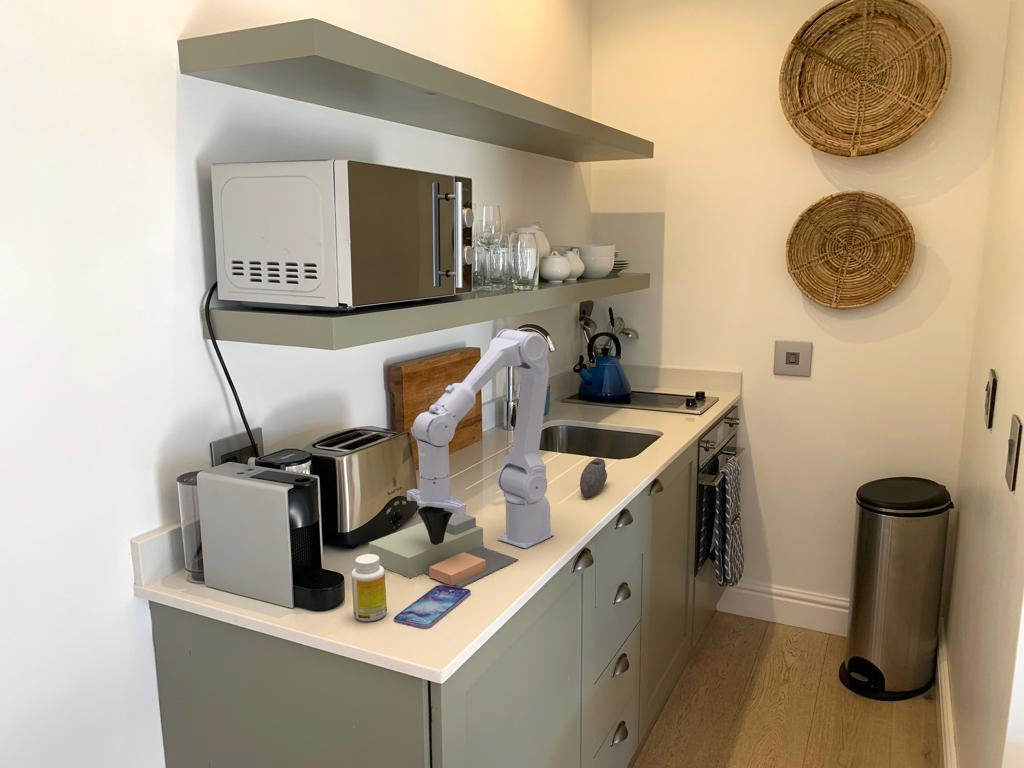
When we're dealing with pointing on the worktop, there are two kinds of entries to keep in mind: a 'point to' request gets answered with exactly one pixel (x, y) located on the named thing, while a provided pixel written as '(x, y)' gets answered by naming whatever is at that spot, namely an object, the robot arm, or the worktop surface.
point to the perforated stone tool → (593, 477)
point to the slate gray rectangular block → (460, 524)
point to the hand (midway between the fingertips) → (437, 542)
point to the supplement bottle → (368, 588)
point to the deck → (421, 549)
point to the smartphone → (432, 606)
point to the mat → (493, 564)
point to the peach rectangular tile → (457, 568)
